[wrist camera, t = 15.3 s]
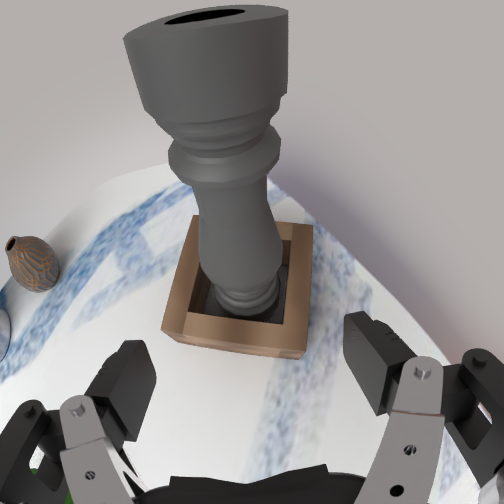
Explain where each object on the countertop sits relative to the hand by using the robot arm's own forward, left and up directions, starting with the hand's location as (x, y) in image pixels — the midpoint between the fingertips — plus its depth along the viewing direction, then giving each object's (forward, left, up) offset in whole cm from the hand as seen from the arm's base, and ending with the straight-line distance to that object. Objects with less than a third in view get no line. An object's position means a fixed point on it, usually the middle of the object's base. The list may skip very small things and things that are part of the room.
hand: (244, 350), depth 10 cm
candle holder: (-2, +8, -16) cm, 18 cm away
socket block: (-2, +8, -16) cm, 18 cm away
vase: (-30, +6, -16) cm, 35 cm away
